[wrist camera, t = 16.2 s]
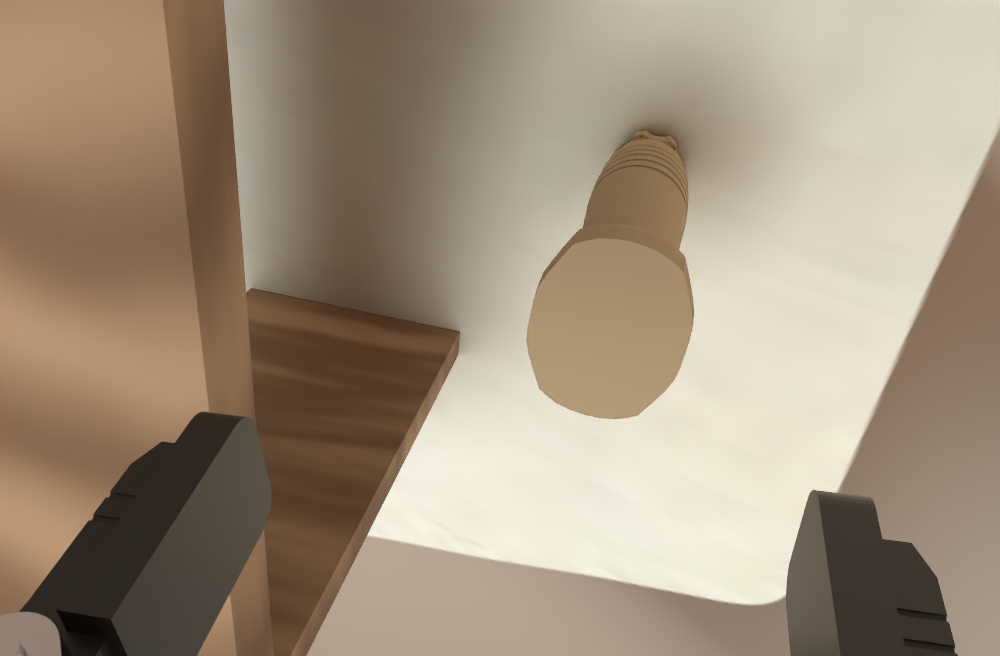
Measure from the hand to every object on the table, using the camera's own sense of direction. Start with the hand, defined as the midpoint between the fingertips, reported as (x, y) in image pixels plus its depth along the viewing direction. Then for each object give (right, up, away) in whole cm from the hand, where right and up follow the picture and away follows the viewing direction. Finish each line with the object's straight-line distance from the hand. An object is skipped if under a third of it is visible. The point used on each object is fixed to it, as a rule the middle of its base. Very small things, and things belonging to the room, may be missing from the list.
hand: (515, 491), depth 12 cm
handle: (+7, +10, +26) cm, 29 cm away
